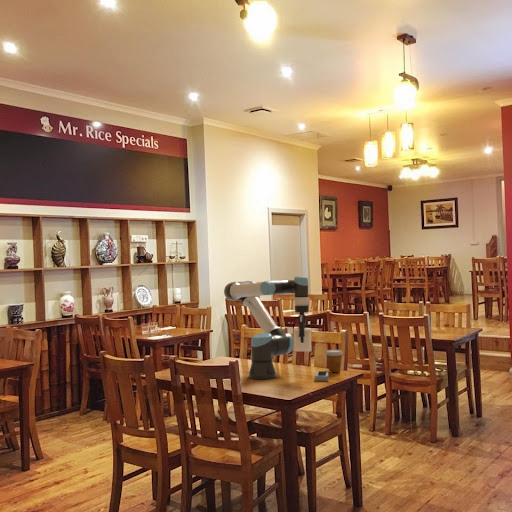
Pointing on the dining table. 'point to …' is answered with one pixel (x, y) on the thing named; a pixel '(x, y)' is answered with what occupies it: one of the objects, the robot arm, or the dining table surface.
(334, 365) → the disposable coffee cup
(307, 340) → the door panel
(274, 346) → the robot arm
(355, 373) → the dining table surface
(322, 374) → the track
